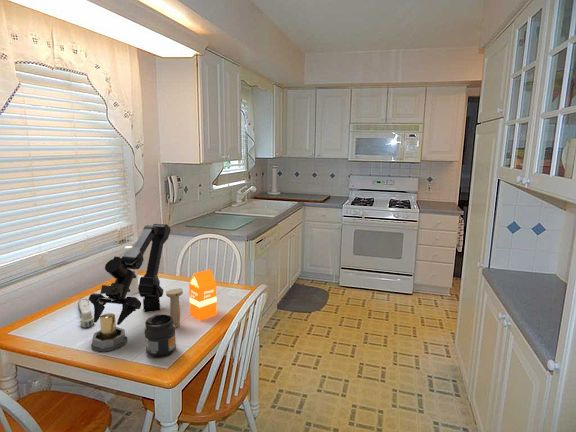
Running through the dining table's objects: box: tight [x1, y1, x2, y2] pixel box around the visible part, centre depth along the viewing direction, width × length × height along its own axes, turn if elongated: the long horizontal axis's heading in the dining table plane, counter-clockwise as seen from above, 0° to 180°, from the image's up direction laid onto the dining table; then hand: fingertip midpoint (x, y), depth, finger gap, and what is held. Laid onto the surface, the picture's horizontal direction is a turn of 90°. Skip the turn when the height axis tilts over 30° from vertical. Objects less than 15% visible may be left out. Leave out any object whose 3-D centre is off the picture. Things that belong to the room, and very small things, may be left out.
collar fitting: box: [90, 326, 128, 353], centre depth 139 cm, size 12×12×4 cm
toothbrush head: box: [77, 297, 95, 328], centre depth 161 cm, size 5×7×25 cm
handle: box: [165, 288, 184, 328], centre depth 153 cm, size 5×6×15 cm
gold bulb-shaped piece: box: [99, 312, 117, 340], centre depth 139 cm, size 6×6×10 cm
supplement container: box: [143, 313, 177, 359], centre depth 134 cm, size 10×10×12 cm
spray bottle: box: [124, 245, 139, 296], centre depth 185 cm, size 7×7×25 cm
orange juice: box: [188, 269, 218, 322], centre depth 163 cm, size 8×9×20 cm
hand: (106, 323), depth 137 cm, fingers open, 9 cm apart
